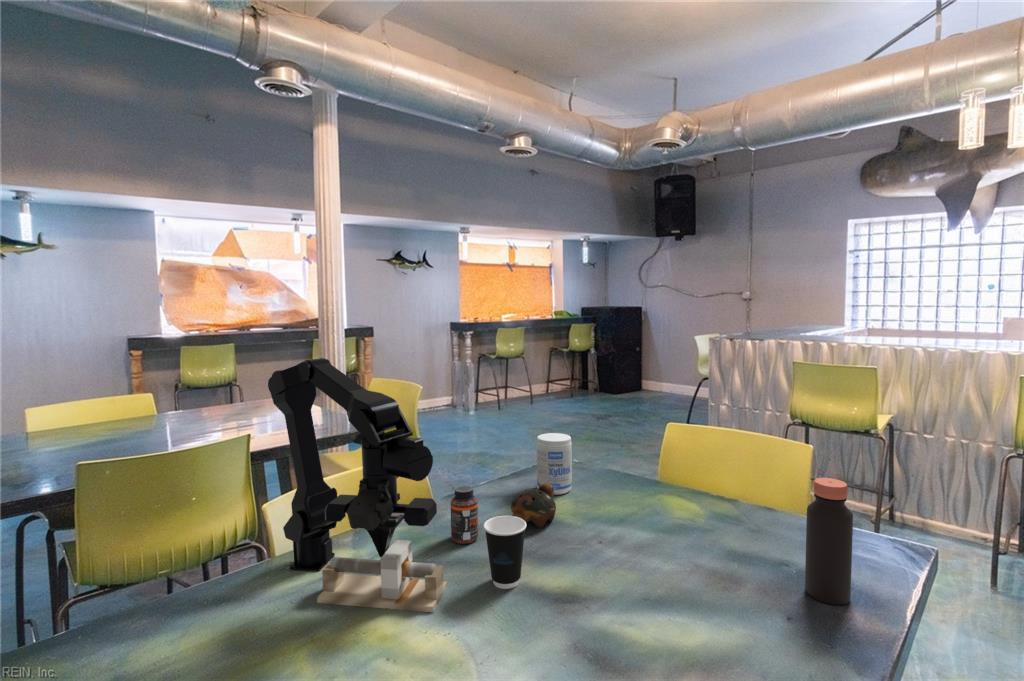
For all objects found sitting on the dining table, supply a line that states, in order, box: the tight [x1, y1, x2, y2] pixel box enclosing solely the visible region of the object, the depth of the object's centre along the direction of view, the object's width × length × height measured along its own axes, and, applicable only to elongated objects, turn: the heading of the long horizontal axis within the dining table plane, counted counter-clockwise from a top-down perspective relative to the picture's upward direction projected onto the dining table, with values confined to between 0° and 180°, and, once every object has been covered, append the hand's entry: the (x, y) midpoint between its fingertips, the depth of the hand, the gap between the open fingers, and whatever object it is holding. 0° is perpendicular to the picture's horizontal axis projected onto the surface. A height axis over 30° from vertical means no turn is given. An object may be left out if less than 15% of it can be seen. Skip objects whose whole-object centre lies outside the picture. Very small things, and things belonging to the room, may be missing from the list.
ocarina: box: [510, 483, 557, 529], centre depth 121 cm, size 10×15×8 cm, turn 148°
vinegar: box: [804, 477, 854, 606], centre depth 89 cm, size 7×7×20 cm
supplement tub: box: [536, 432, 573, 496], centre depth 142 cm, size 10×10×15 cm
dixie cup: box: [482, 515, 527, 590], centre depth 96 cm, size 8×8×11 cm
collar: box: [379, 539, 414, 599], centre depth 92 cm, size 3×7×7 cm, turn 171°
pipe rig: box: [316, 556, 448, 613], centre depth 93 cm, size 21×8×6 cm, turn 81°
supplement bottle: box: [450, 485, 479, 545], centre depth 114 cm, size 6×6×11 cm
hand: (383, 556), depth 92 cm, fingers closed
